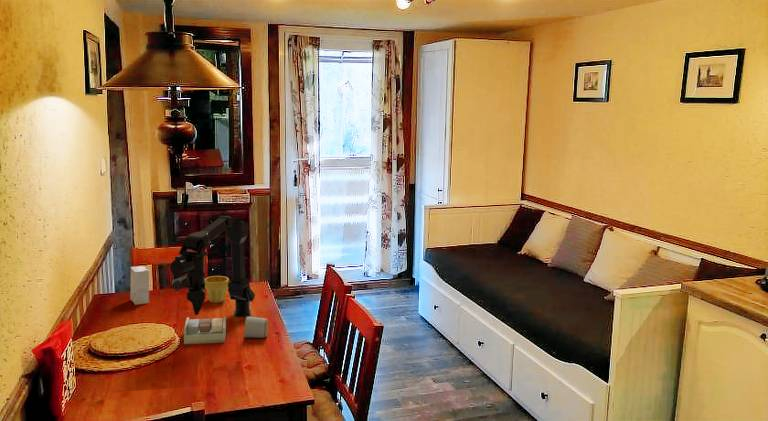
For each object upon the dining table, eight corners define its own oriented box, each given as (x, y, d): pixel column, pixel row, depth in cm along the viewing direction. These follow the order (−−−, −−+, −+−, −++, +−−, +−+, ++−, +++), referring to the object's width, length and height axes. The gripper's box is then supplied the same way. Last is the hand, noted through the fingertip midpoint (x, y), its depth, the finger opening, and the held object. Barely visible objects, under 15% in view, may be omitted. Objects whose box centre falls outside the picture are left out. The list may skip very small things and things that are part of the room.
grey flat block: (189, 325, 224) (189, 319, 223) (199, 324, 225) (199, 319, 224) (187, 333, 216) (187, 327, 216) (198, 332, 217) (197, 326, 217)
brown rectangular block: (201, 324, 225) (201, 318, 224) (211, 324, 226) (211, 318, 225) (199, 332, 217) (199, 326, 217) (210, 332, 218) (210, 326, 218)
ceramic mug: (266, 340, 220) (266, 320, 219) (243, 340, 220) (243, 320, 219) (269, 330, 231) (270, 311, 230) (248, 330, 230) (248, 311, 229)
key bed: (187, 331, 227) (186, 317, 226) (225, 329, 230) (225, 315, 229) (184, 344, 214) (183, 329, 213) (224, 342, 217) (224, 327, 216)
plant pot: (218, 305, 256) (217, 283, 255) (199, 301, 261) (199, 279, 259) (233, 299, 266) (233, 277, 264) (215, 295, 270) (215, 274, 268)
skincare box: (130, 300, 259) (129, 266, 257) (144, 297, 263) (143, 265, 260) (135, 305, 253) (134, 271, 250) (150, 303, 256) (149, 269, 254)
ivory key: (212, 324, 226) (212, 318, 225) (222, 323, 227) (222, 318, 226) (211, 332, 218) (211, 326, 218) (221, 331, 219) (221, 325, 219)
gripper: (173, 263, 223) (174, 303, 226) (171, 277, 205) (172, 320, 208) (204, 262, 226) (205, 302, 229) (205, 276, 209) (205, 318, 211)
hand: (196, 310), depth 219 cm, fingers open, 9 cm apart
